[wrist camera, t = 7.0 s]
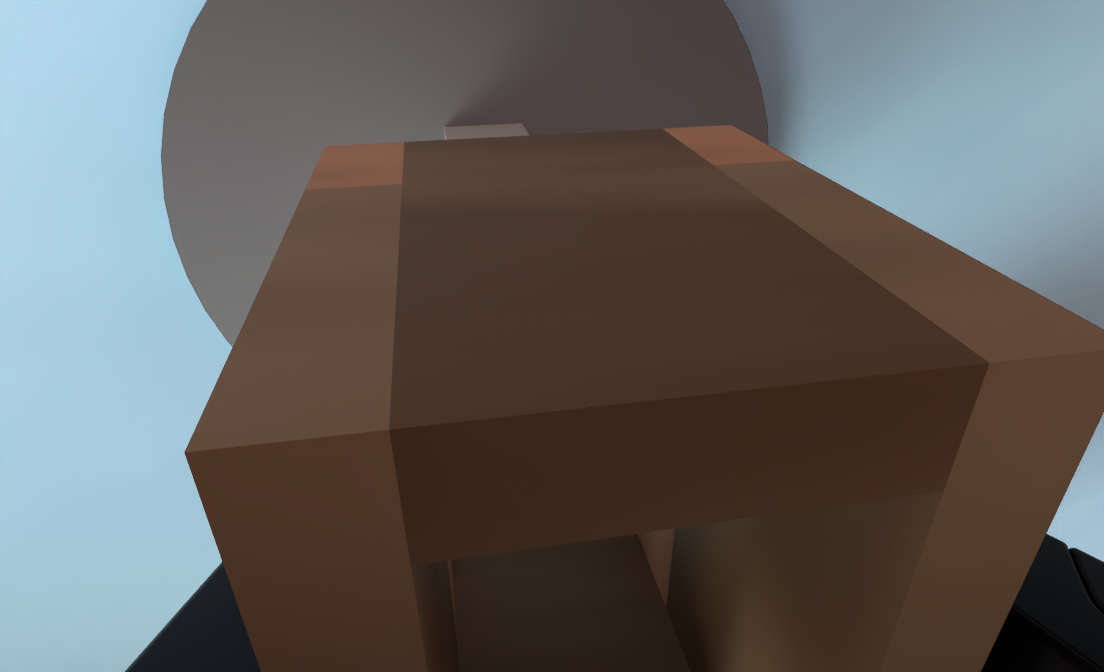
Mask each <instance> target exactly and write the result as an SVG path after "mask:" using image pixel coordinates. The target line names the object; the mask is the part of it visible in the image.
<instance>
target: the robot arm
mask: <svg viewBox="0 0 1104 672" xmlns="http://www.w3.org/2000/svg"><path fill="white" fill-rule="evenodd" d="M125 672H261V671H260V668H259V665H258V662H257V659H256V656H255V653H254V651H253V648H252V645H251V642H250V639H249V636H248V633H247V631H246V628H245V625H244V622H243V619H242V616H241V613H240V610H239V608H238V605H237V602H236V599H235V596H234V593H233V590H232V587H231V585H230V582H229V579H228V576H227V573H226V570H225V567H224V564H223V562H222V563H221V564H220V565H219V566H218V567H217V568H216V569H215V570H214V572H213V573H212V574H211V575H210V576H209V577H208V578H207V579H206V581H205V582H204V583H203V584H202V585H201V586H200V587H199V588H198V590H197V591H196V592H195V593H194V594H193V595H192V596H191V598H190V599H189V600H188V601H187V602H186V603H185V604H184V605H183V607H182V608H181V609H180V610H179V611H178V612H177V613H176V614H175V616H174V617H173V618H172V619H171V620H170V621H169V622H168V623H167V625H166V626H165V627H164V628H163V629H162V630H161V631H160V633H159V634H158V635H157V636H156V637H155V638H154V639H153V640H152V642H151V643H150V644H149V645H148V646H147V647H146V648H145V649H144V651H143V652H142V653H141V654H140V655H139V656H138V657H137V658H136V660H135V661H134V662H133V663H132V664H131V665H130V666H129V667H128V669H127V670H126V671H125ZM981 672H1104V562H1103V561H1101V560H1099V559H1097V558H1095V557H1093V556H1091V555H1089V554H1087V553H1085V552H1083V551H1081V550H1079V549H1077V548H1070V549H1068V547H1067V545H1066V544H1065V543H1064V542H1062V541H1060V540H1058V539H1056V538H1054V537H1052V536H1050V535H1048V534H1046V535H1045V537H1044V539H1043V541H1042V543H1041V546H1040V548H1039V550H1038V552H1037V554H1036V556H1035V558H1034V560H1033V562H1032V565H1031V567H1030V569H1029V571H1028V573H1027V575H1026V577H1025V579H1024V581H1023V584H1022V586H1021V588H1020V590H1019V592H1018V594H1017V596H1016V598H1015V601H1014V603H1013V605H1012V607H1011V609H1010V611H1009V613H1008V615H1007V617H1006V620H1005V622H1004V624H1003V626H1002V628H1001V630H1000V632H999V634H998V636H997V639H996V641H995V643H994V645H993V647H992V649H991V651H990V653H989V655H988V658H987V660H986V662H985V664H984V666H983V668H982V670H981Z"/></svg>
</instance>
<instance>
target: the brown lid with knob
mask: <svg viewBox="0 0 1104 672" xmlns="http://www.w3.org/2000/svg"><path fill="white" fill-rule="evenodd" d="M722 125H732V126H734V127H736V128H737V129H739V130H741V131H743V132H745V133H746V134H748V135H750V136H752V137H754V138H756V139H757V140H759V141H761V142H763V143H765V144H767V145H768V126H767V120H766V114H765V108H764V102H763V96H762V90H761V86H760V83H759V80H758V77H757V73H756V70H755V67H754V64H753V61H752V57H751V54H750V51H749V49H748V47H747V45H746V42H745V40H744V38H743V36H742V34H741V32H740V30H739V28H738V25H737V23H736V21H735V19H734V17H733V15H732V13H731V12H730V10H729V9H728V7H727V5H726V4H725V2H724V1H723V0H207V2H206V3H205V5H204V7H203V8H202V10H201V12H200V13H199V15H198V17H197V18H196V20H195V22H194V23H193V25H192V27H191V29H190V31H189V34H188V36H187V39H186V42H185V44H184V47H183V49H182V52H181V54H180V57H179V59H178V62H177V64H176V67H175V69H174V73H173V77H172V81H171V86H170V90H169V95H168V99H167V103H166V108H165V112H164V123H163V137H162V151H161V163H162V176H163V189H164V200H165V205H166V209H167V214H168V218H169V223H170V227H171V232H172V236H173V240H174V243H175V245H176V248H177V251H178V253H179V256H180V259H181V261H182V264H183V267H184V269H185V272H186V275H187V277H188V279H189V281H190V283H191V285H192V286H193V288H194V290H195V292H196V294H197V296H198V298H199V299H200V301H201V303H202V305H203V307H204V309H205V311H206V312H207V313H208V315H209V316H210V318H211V319H212V320H213V322H214V323H215V325H216V326H217V327H218V329H219V330H220V332H221V333H222V334H223V336H224V337H225V339H226V340H227V341H228V342H229V344H230V345H231V346H232V347H233V346H234V343H235V341H236V339H237V337H238V335H239V332H240V330H241V328H242V326H243V324H244V322H245V319H246V317H247V315H248V313H249V311H250V308H251V306H252V304H253V302H254V300H255V298H256V295H257V293H258V291H259V289H260V287H261V284H262V282H263V280H264V278H265V276H266V274H267V271H268V269H269V267H270V265H271V263H272V260H273V258H274V256H275V254H276V252H277V250H278V247H279V245H280V243H281V241H282V239H283V236H284V234H285V232H286V230H287V228H288V225H289V223H290V221H291V219H292V217H293V215H294V212H295V210H296V208H297V206H298V204H299V201H300V199H301V197H302V195H303V193H304V191H305V188H306V186H307V184H308V182H309V180H310V177H311V175H312V173H313V171H314V169H315V167H316V164H317V162H318V160H319V158H320V156H321V153H322V151H323V149H324V147H325V146H334V145H353V144H373V143H392V142H411V141H431V140H450V139H470V138H489V137H508V136H528V135H547V134H567V133H586V132H605V131H625V130H644V129H664V128H683V127H703V126H722Z"/></svg>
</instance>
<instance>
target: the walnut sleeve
mask: <svg viewBox="0 0 1104 672" xmlns="http://www.w3.org/2000/svg"><path fill="white" fill-rule="evenodd" d="M1103 412H1104V330H1103V329H1101V328H1100V327H1098V326H1096V325H1094V324H1092V323H1091V322H1089V321H1087V320H1085V319H1083V318H1081V317H1080V316H1078V315H1076V314H1074V313H1072V312H1071V311H1069V310H1067V309H1065V308H1063V307H1061V306H1060V305H1058V304H1056V303H1054V302H1052V301H1051V300H1049V299H1047V298H1045V297H1043V296H1041V295H1040V294H1038V293H1036V292H1034V291H1032V290H1030V289H1029V288H1027V287H1025V286H1023V285H1021V284H1020V283H1018V282H1016V281H1014V280H1012V279H1010V278H1009V277H1007V276H1005V275H1003V274H1001V273H1000V272H998V271H996V270H994V269H992V268H990V267H989V266H987V265H985V264H983V263H981V262H980V261H978V260H976V259H974V258H972V257H970V256H969V255H967V254H965V253H963V252H961V251H959V250H958V249H956V248H954V247H952V246H950V245H949V244H947V243H945V242H943V241H941V240H939V239H938V238H936V237H934V236H932V235H930V234H929V233H927V232H925V231H923V230H921V229H919V228H918V227H916V226H914V225H912V224H910V223H909V222H907V221H905V220H903V219H901V218H899V217H898V216H896V215H894V214H892V213H890V212H888V211H887V210H885V209H883V208H881V207H879V206H878V205H876V204H874V203H872V202H870V201H868V200H867V199H865V198H863V197H861V196H859V195H858V194H856V193H854V192H852V191H850V190H848V189H847V188H845V187H843V186H841V185H839V184H838V183H836V182H834V181H832V180H830V179H828V178H827V177H825V176H823V175H821V174H819V173H817V172H816V171H814V170H812V169H810V168H808V167H807V166H805V165H803V164H801V163H799V162H797V161H796V160H794V159H792V158H790V157H788V156H787V155H785V154H783V153H781V152H779V151H777V150H776V149H774V148H772V147H770V146H768V145H767V144H765V143H763V142H761V141H759V140H757V139H756V138H754V137H752V136H750V135H748V134H746V133H745V132H743V131H741V130H739V129H737V128H736V127H734V126H732V125H722V126H703V127H683V128H664V129H644V130H625V131H605V132H586V133H567V134H547V135H528V136H508V137H489V138H470V139H450V140H431V141H411V142H392V143H373V144H353V145H334V146H325V147H324V149H323V151H322V153H321V156H320V158H319V160H318V162H317V164H316V167H315V169H314V171H313V173H312V175H311V177H310V180H309V182H308V184H307V186H306V188H305V191H304V193H303V195H302V197H301V199H300V201H299V204H298V206H297V208H296V210H295V212H294V215H293V217H292V219H291V221H290V223H289V225H288V228H287V230H286V232H285V234H284V236H283V239H282V241H281V243H280V245H279V247H278V250H277V252H276V254H275V256H274V258H273V260H272V263H271V265H270V267H269V269H268V271H267V274H266V276H265V278H264V280H263V282H262V284H261V287H260V289H259V291H258V293H257V295H256V298H255V300H254V302H253V304H252V306H251V308H250V311H249V313H248V315H247V317H246V319H245V322H244V324H243V326H242V328H241V330H240V332H239V335H238V337H237V339H236V341H235V343H234V346H233V348H232V350H231V352H230V354H229V356H228V359H227V361H226V363H225V365H224V367H223V370H222V372H221V374H220V376H219V378H218V381H217V383H216V385H215V387H214V389H213V391H212V394H211V396H210V398H209V400H208V402H207V405H206V407H205V409H204V411H203V413H202V415H201V418H200V420H199V422H198V424H197V426H196V429H195V431H194V433H193V435H192V437H191V439H190V442H189V444H188V446H187V448H186V450H185V455H186V458H187V461H188V464H189V467H190V470H191V473H192V475H193V478H194V481H195V484H196V487H197V490H198V493H199V496H200V498H201V501H202V504H203V507H204V510H205V513H206V516H207V519H208V521H209V524H210V527H211V530H212V533H213V536H214V539H215V542H216V544H217V547H218V550H219V553H220V556H221V559H222V562H223V564H224V567H225V570H226V573H227V576H228V579H229V582H230V585H231V587H232V590H233V593H234V596H235V599H236V602H237V605H238V608H239V610H240V613H241V616H242V619H243V622H244V625H245V628H246V631H247V633H248V636H249V639H250V642H251V645H252V648H253V651H254V653H255V656H256V659H257V662H258V665H259V668H260V671H261V672H981V670H982V668H983V666H984V664H985V662H986V660H987V658H988V655H989V653H990V651H991V649H992V647H993V645H994V643H995V641H996V639H997V636H998V634H999V632H1000V630H1001V628H1002V626H1003V624H1004V622H1005V620H1006V617H1007V615H1008V613H1009V611H1010V609H1011V607H1012V605H1013V603H1014V601H1015V598H1016V596H1017V594H1018V592H1019V590H1020V588H1021V586H1022V584H1023V581H1024V579H1025V577H1026V575H1027V573H1028V571H1029V569H1030V567H1031V565H1032V562H1033V560H1034V558H1035V556H1036V554H1037V552H1038V550H1039V548H1040V546H1041V543H1042V541H1043V539H1044V537H1045V535H1046V533H1047V531H1048V529H1049V527H1050V524H1051V522H1052V520H1053V518H1054V516H1055V514H1056V512H1057V510H1058V508H1059V505H1060V503H1061V501H1062V499H1063V497H1064V495H1065V493H1066V491H1067V488H1068V486H1069V484H1070V482H1071V480H1072V478H1073V476H1074V474H1075V472H1076V469H1077V467H1078V465H1079V463H1080V461H1081V459H1082V457H1083V455H1084V453H1085V450H1086V448H1087V446H1088V444H1089V442H1090V440H1091V438H1092V436H1093V434H1094V431H1095V429H1096V427H1097V425H1098V423H1099V421H1100V419H1101V417H1102V415H1103Z"/></svg>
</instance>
